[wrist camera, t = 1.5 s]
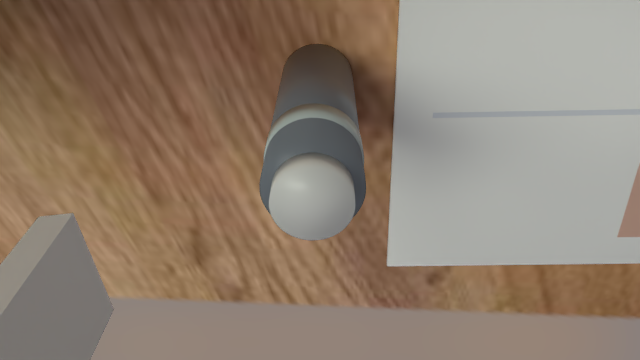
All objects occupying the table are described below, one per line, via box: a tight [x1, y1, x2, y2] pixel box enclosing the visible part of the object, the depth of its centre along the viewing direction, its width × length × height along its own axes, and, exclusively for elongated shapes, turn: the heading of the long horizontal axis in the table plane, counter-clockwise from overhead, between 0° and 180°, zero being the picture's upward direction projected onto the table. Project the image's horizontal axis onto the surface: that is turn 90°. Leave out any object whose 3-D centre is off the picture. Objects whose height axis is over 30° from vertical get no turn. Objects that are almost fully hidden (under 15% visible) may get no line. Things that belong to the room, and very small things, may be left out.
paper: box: [387, 0, 640, 266], centre depth 29 cm, size 20×18×1 cm
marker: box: [260, 44, 366, 240], centre depth 23 cm, size 4×4×12 cm
